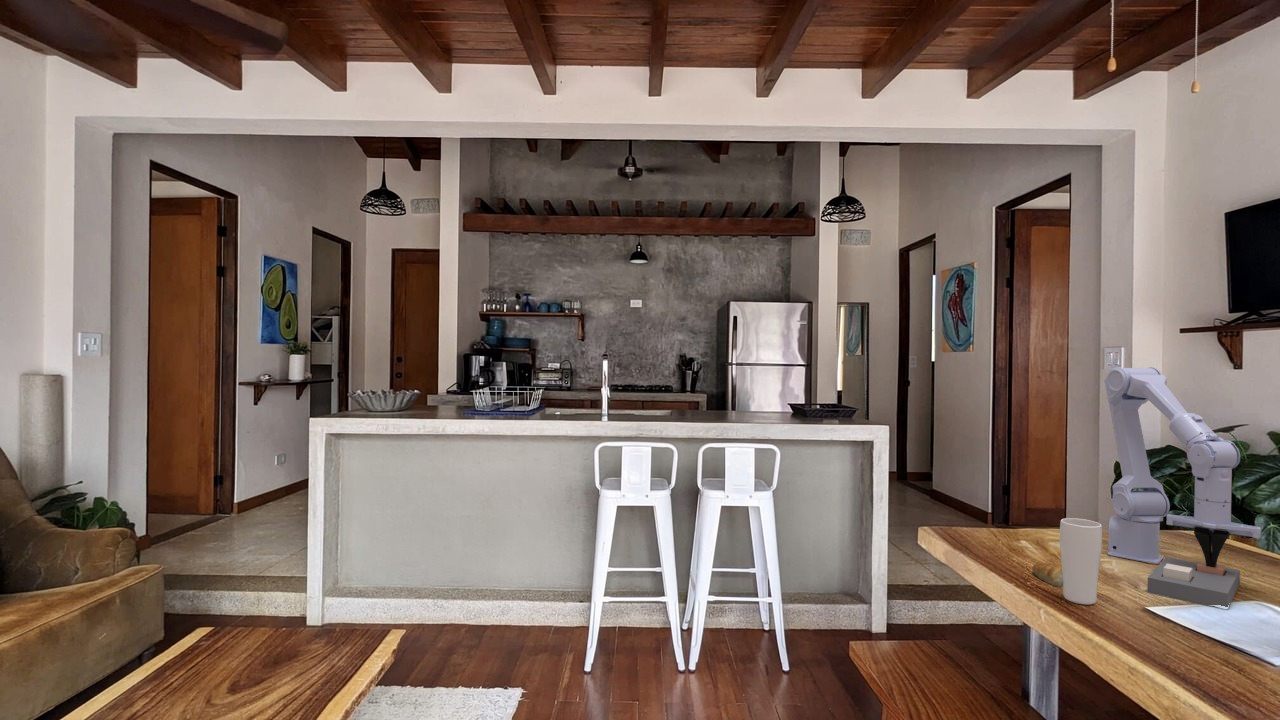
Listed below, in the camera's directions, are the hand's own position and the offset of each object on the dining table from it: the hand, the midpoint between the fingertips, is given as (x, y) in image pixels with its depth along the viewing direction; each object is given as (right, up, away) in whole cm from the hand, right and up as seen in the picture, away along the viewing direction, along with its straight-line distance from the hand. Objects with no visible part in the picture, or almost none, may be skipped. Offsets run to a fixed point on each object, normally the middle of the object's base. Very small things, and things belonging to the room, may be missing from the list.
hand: (1211, 566), depth 138 cm
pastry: (-30, -4, +2) cm, 31 cm away
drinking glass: (-33, -4, -9) cm, 34 cm away
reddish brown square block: (0, -3, 0) cm, 3 cm away
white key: (-10, -2, -4) cm, 11 cm away
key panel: (-5, -4, -2) cm, 7 cm away
